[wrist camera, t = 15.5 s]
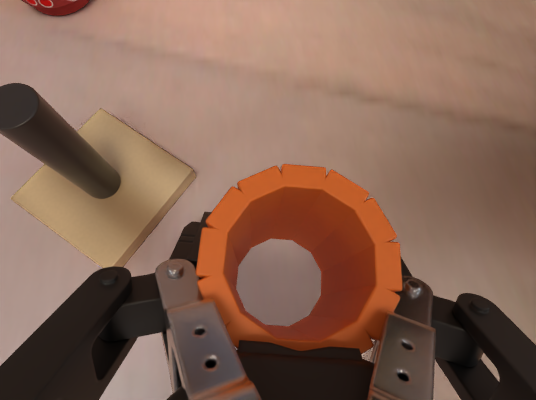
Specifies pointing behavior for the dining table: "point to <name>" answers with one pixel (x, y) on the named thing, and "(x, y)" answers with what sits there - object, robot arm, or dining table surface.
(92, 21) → the dining table surface
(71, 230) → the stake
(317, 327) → the orange collar
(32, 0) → the smoothie
